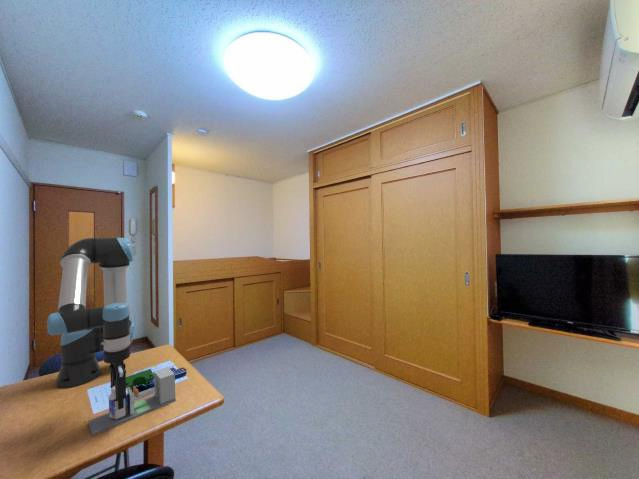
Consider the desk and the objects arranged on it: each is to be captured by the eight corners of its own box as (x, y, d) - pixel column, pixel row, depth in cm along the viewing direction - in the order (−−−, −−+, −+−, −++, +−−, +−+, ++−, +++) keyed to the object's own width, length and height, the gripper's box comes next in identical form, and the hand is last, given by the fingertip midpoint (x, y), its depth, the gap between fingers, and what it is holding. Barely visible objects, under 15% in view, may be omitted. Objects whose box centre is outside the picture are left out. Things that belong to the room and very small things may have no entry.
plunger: (126, 406, 99) (125, 387, 99) (167, 390, 109) (167, 373, 109) (130, 415, 94) (130, 395, 94) (173, 397, 104) (173, 379, 104)
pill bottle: (113, 420, 91) (112, 392, 91) (106, 415, 94) (105, 388, 94) (131, 411, 96) (130, 385, 95) (124, 406, 98) (123, 380, 98)
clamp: (128, 404, 109) (118, 390, 105) (124, 395, 113) (115, 382, 109) (159, 383, 117) (150, 369, 112) (154, 375, 120) (146, 362, 116)
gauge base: (88, 423, 92) (87, 393, 92) (168, 391, 110) (167, 366, 110) (92, 436, 86) (91, 404, 86) (175, 400, 104) (175, 374, 104)
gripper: (99, 344, 98) (101, 406, 98) (108, 359, 85) (109, 431, 86) (124, 338, 103) (125, 397, 104) (136, 352, 91) (137, 419, 91)
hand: (118, 412), depth 95 cm, fingers closed on pill bottle, 5 cm apart
